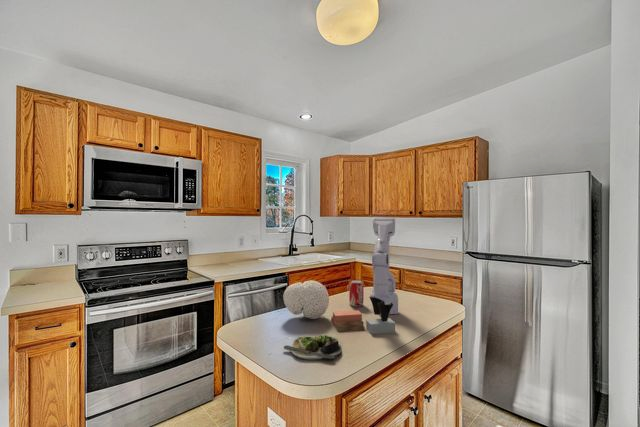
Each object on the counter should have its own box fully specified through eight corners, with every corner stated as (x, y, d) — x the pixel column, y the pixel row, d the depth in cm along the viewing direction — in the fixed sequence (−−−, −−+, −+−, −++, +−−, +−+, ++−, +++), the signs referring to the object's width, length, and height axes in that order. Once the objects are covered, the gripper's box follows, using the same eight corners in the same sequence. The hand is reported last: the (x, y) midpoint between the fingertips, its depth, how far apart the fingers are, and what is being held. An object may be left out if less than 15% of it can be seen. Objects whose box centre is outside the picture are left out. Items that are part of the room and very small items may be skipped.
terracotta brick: (358, 319, 128) (358, 310, 128) (361, 323, 123) (361, 314, 123) (332, 321, 126) (332, 311, 126) (335, 325, 121) (335, 315, 121)
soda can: (354, 308, 147) (354, 283, 147) (346, 304, 153) (346, 280, 153) (366, 306, 150) (366, 282, 150) (358, 302, 156) (358, 279, 156)
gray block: (389, 328, 122) (389, 318, 122) (395, 332, 117) (395, 322, 117) (366, 329, 120) (366, 319, 120) (370, 334, 116) (370, 324, 116)
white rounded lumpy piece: (323, 310, 143) (323, 276, 143) (334, 324, 126) (334, 284, 126) (281, 314, 138) (281, 278, 138) (287, 328, 121) (287, 287, 121)
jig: (355, 319, 132) (355, 313, 132) (364, 329, 120) (364, 323, 120) (331, 320, 130) (331, 314, 130) (337, 331, 118) (337, 325, 118)
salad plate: (280, 364, 93) (280, 349, 93) (286, 339, 111) (286, 327, 111) (343, 364, 93) (343, 349, 93) (339, 339, 111) (339, 327, 111)
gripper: (365, 279, 125) (365, 312, 125) (377, 287, 111) (377, 324, 111) (381, 278, 127) (381, 311, 127) (395, 287, 112) (395, 323, 112)
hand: (380, 317), depth 119 cm, fingers open, 7 cm apart
